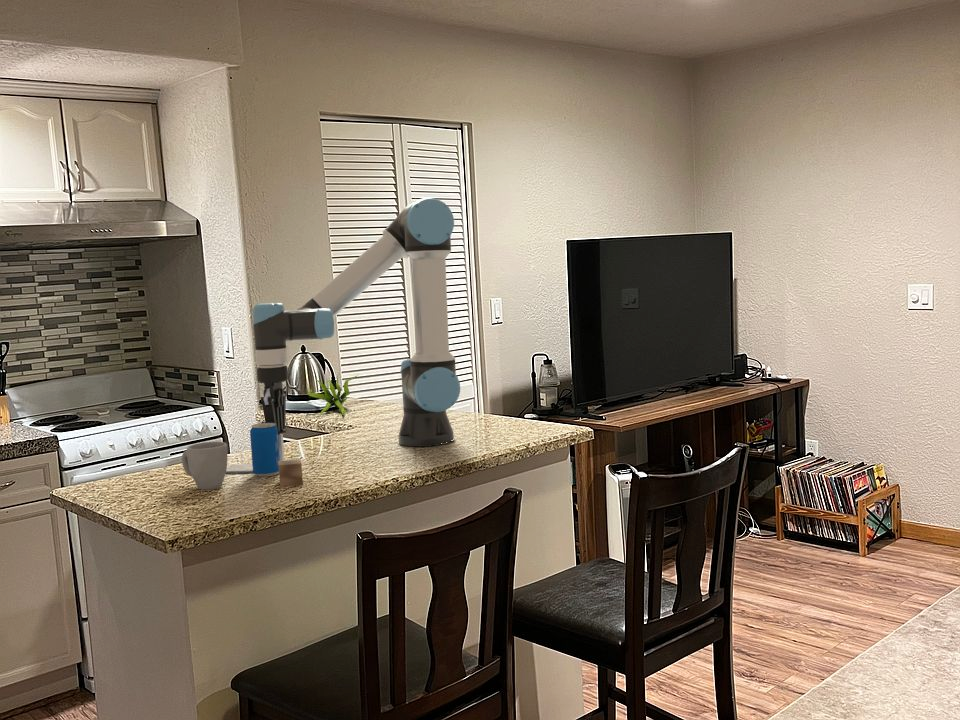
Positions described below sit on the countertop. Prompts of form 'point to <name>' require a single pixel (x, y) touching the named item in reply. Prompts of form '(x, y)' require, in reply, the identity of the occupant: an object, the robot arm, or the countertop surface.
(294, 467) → the walnut block
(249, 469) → the tile
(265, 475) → the beverage can
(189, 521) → the countertop surface
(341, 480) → the countertop surface
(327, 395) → the decorative plant
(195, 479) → the mug
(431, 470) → the countertop surface
